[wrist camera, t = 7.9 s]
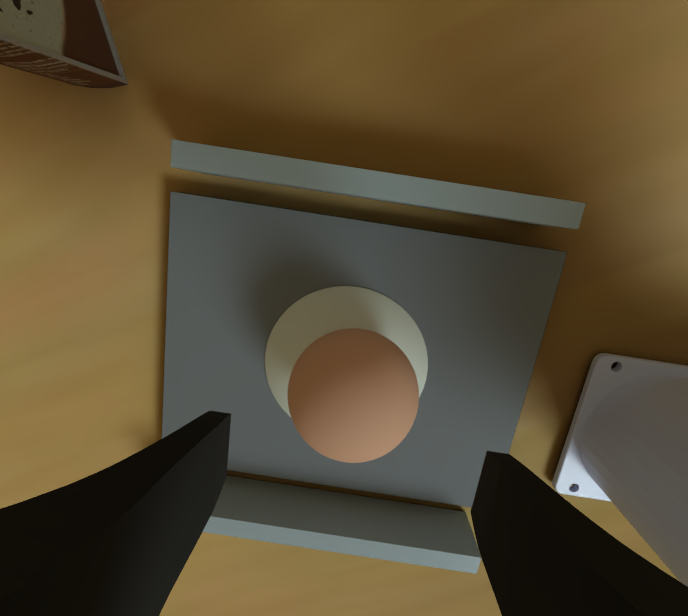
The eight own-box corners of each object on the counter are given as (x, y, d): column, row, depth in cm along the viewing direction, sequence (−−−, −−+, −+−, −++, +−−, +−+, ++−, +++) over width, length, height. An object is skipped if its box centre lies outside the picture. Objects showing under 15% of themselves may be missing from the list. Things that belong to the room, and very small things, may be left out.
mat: (558, 250, 18) (568, 252, 18) (487, 499, 22) (492, 511, 21) (178, 192, 18) (169, 191, 18) (168, 450, 22) (160, 460, 21)
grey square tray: (549, 203, 18) (585, 203, 15) (461, 526, 23) (476, 573, 20) (202, 150, 18) (171, 139, 15) (184, 484, 22) (158, 525, 20)
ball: (417, 331, 19) (461, 382, 14) (377, 427, 20) (404, 507, 15) (309, 297, 18) (314, 338, 13) (274, 400, 19) (265, 476, 14)
